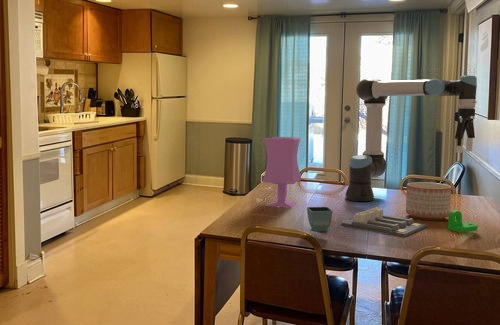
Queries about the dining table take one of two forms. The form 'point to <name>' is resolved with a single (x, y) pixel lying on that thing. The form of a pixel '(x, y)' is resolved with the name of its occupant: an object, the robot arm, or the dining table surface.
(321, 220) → the flower pot
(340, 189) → the dining table surface
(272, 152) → the purple table lamp
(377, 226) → the switch board
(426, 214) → the planter
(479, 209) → the dining table surface
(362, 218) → the tab near
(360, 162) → the robot arm
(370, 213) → the tab middle
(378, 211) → the tab far
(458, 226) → the mechanical part
